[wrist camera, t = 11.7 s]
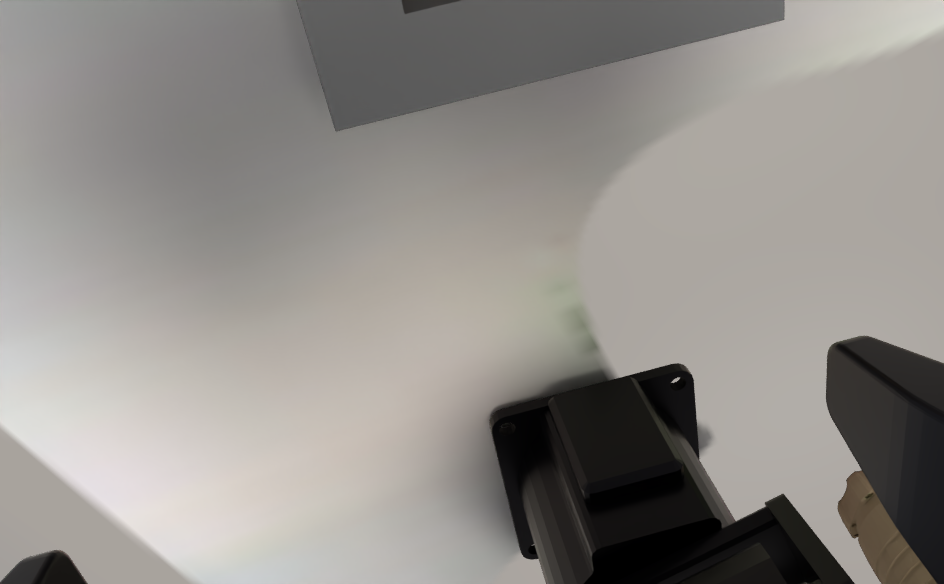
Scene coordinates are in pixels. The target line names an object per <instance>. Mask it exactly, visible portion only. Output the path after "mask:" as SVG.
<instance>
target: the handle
mask: <svg viewBox="0 0 944 584" xmlns="http://www.w3.org/2000/svg"><path fill="white" fill-rule="evenodd" d="M846 481H847V488H846V491H845V494H844V496H843V497H842V499H841V500H840V501H839V503H838V512H839V514H840V516H841V519H842V521H843V523H844V524H845V526H846V528H847V529H848V531H849V533H850V534H851V536H852V537H853V538H856V537H859V538H858V541H859V544H860V546H861V548H862V550H863V552H864V554H865V556H866V558H867V560H868V562H869V564H870V566H871V567H872V569H873V571H874V572H875V574H876V576H877V577H878V579H879V581H880V582H881V583H882V584H937V583H936V581H935V580H934V579H933V577H932V576H931V575H930V573H929V572H928V570H927V569H926V568H925V566H924V565H923V564H922V562H921V561H920V560H919V558H918V557H917V556H916V554H915V553H914V552H913V550H912V549H911V548H910V546H909V545H908V543H907V542H906V541H905V539H904V538H903V536H902V535H901V534H900V532H899V531H898V529H897V528H896V526H895V525H894V523H893V522H892V520H891V518H890V517H889V515H888V514H887V512H886V510H885V509H884V507H883V505H882V504H881V502H880V500H879V498H878V497H877V495H876V493H875V492H874V490H873V488H872V486H871V485H870V483H869V481H868V480H867V478H866V476H865V474H864V473H863V471H855V472H854V473H852V474H851V475H850V476H849V477H848V478H847V480H846Z"/></svg>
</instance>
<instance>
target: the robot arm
mask: <svg viewBox="0 0 944 584" xmlns="http://www.w3.org/2000/svg"><path fill="white" fill-rule="evenodd" d="M677 377H681V378H680V379H679V380H678V381H677V382H675V383H671V382H672V381H673V380H674V379H675V378H677ZM826 402H827V407H828V410H829V413H830V415H831V418H832V420H833V421H834V423H835V425H836V426H837V428H838V430H839V431H840V433H841V435H842V437H843V438H844V440H845V442H846V443H847V445H848V447H849V448H850V450H851V452H852V454H853V456H854V457H855V459H856V461H857V462H858V464H859V466H860V467H861V469H862V471H863V473H864V474H865V476H866V478H867V480H868V481H869V483H870V485H871V486H872V488H873V490H874V492H875V493H876V495H877V497H878V498H879V500H880V502H881V504H882V505H883V507H884V509H885V510H886V512H887V514H888V515H889V517H890V518H891V520H892V522H893V523H894V525H895V526H896V528H897V529H898V531H899V532H900V534H901V535H902V536H903V538H904V539H905V541H906V542H907V543H908V545H909V546H910V548H911V549H912V550H913V552H914V553H915V554H916V556H917V557H918V558H919V560H920V561H921V562H922V564H923V565H924V566H925V568H926V569H927V570H928V572H929V573H930V575H931V576H932V577H933V579H934V580H935V581H936V583H937V584H944V363H941V362H939V361H936V360H933V359H930V358H927V357H925V356H922V355H919V354H917V353H914V352H911V351H908V350H906V349H903V348H900V347H897V346H894V345H891V344H889V343H886V342H883V341H880V340H878V339H875V338H872V337H869V336H858V337H855V338H851V339H847V340H843V341H840V342H836V343H834V344H833V345H831V347H830V348H829V350H828V355H827V381H826ZM505 423H512V424H511V425H510V426H508V427H501V426H502V425H503V424H505ZM490 429H491V433H492V437H493V441H494V445H495V449H496V453H497V457H498V462H499V466H500V470H501V474H502V478H503V482H504V486H505V490H506V494H507V498H508V502H509V506H510V510H511V514H512V518H513V523H514V527H515V531H516V535H517V539H518V543H519V547H520V550H521V553H522V555H523V557H525V558H527V559H539V561H540V564H541V568H542V571H543V575H544V578H545V581H546V584H854V582H853V581H852V580H851V578H850V577H849V576H848V575H847V573H846V572H845V571H844V569H843V568H842V567H841V566H840V564H839V563H838V562H837V561H836V559H835V558H834V557H833V556H832V555H831V553H830V552H829V551H828V549H827V548H826V547H825V546H824V544H823V543H822V542H821V540H820V539H819V538H818V537H817V535H816V534H815V533H814V532H813V530H812V529H811V528H810V527H809V525H808V524H807V523H806V522H805V520H804V519H803V518H802V517H801V515H800V514H799V513H798V511H796V509H795V508H794V507H793V505H792V504H791V503H790V501H789V500H788V499H787V498H786V497H785V495H784V494H781V495H779V496H777V497H775V498H773V499H771V500H769V501H768V502H765V505H766V507H764V508H762V509H760V510H758V511H756V512H754V513H752V514H750V515H748V516H746V517H744V518H742V519H740V520H738V521H735V520H734V518H733V516H732V515H731V513H730V511H729V510H728V508H727V506H726V505H725V503H724V501H723V500H722V498H721V496H720V494H719V493H718V491H717V489H716V488H715V486H714V484H713V482H712V481H711V479H710V477H709V476H708V475H707V473H706V471H705V469H704V468H703V466H702V464H701V462H700V461H699V448H698V434H697V420H696V407H695V393H694V380H693V377H692V375H691V374H690V372H689V370H688V369H687V368H686V367H685V366H684V365H682V364H670V365H667V366H663V367H659V368H655V369H652V370H648V371H644V372H640V373H637V374H633V375H629V376H625V377H621V378H617V379H614V380H610V381H606V382H602V383H598V384H595V385H591V386H587V387H583V388H579V389H576V390H572V391H568V392H564V393H560V394H557V395H553V396H549V397H545V398H542V399H538V400H534V401H530V402H526V403H523V404H519V405H515V406H511V407H507V408H504V409H501V410H498V411H496V412H495V413H494V414H493V415H492V416H491V418H490ZM533 544H535V545H533ZM531 545H533V546H531ZM0 584H88V583H87V582H86V581H85V579H84V578H83V576H82V575H81V573H80V572H79V570H78V569H77V567H76V566H75V564H74V563H73V561H72V560H71V558H70V557H69V556H68V555H67V554H66V553H65V552H63V551H61V550H53V551H49V552H45V553H42V554H38V555H34V556H30V557H28V558H25V559H23V560H22V561H20V562H19V563H18V564H17V565H16V566H15V567H14V568H13V569H12V570H11V571H10V572H9V573H8V574H7V576H6V577H5V578H4V579H3V580H2V581H1V582H0Z"/></svg>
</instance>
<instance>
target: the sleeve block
mask: <svg viewBox="0 0 944 584" xmlns="http://www.w3.org/2000/svg"><path fill="white" fill-rule="evenodd" d="M296 1H297V5H298V8H299V11H300V15H301V18H302V21H303V25H304V28H305V31H306V34H307V38H308V41H309V44H310V48H311V51H312V54H313V58H314V61H315V64H316V68H317V71H318V74H319V78H320V81H321V84H322V88H323V91H324V94H325V98H326V101H327V104H328V108H329V111H330V114H331V118H332V121H333V124H334V128H335V131H340V130H344V129H348V128H352V127H356V126H360V125H364V124H368V123H372V122H376V121H380V120H384V119H388V118H392V117H396V116H400V115H404V114H408V113H412V112H416V111H420V110H424V109H428V108H432V107H436V106H440V105H444V104H448V103H452V102H456V101H460V100H464V99H468V98H472V97H476V96H480V95H484V94H488V93H492V92H496V91H500V90H504V89H508V88H512V87H517V86H521V85H525V84H529V83H533V82H537V81H541V80H545V79H549V78H553V77H557V76H561V75H565V74H569V73H573V72H577V71H581V70H585V69H589V68H593V67H597V66H601V65H605V64H609V63H613V62H617V61H621V60H625V59H629V58H633V57H637V56H641V55H645V54H649V53H653V52H657V51H661V50H665V49H669V48H673V47H677V46H681V45H685V44H689V43H693V42H697V41H701V40H705V39H709V38H713V37H717V36H721V35H725V34H729V33H733V32H737V31H741V30H745V29H749V28H753V27H757V26H761V25H765V24H769V23H773V22H777V21H781V20H784V0H296Z"/></svg>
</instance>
